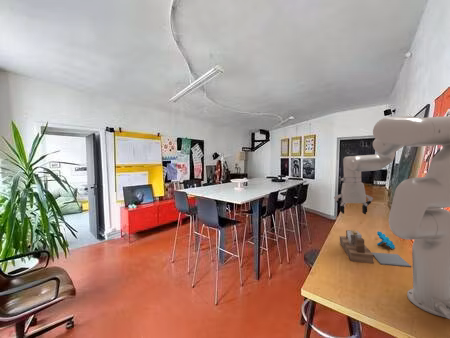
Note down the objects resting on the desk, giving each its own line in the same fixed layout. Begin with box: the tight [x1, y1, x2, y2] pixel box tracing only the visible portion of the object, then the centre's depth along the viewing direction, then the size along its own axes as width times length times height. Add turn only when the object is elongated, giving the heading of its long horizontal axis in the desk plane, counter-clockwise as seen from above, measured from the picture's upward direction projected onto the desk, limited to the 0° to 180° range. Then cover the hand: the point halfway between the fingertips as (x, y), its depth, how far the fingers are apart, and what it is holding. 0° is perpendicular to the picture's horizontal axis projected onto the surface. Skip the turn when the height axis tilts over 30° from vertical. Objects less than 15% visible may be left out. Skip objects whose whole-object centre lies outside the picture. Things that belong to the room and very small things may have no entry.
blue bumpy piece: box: [376, 231, 396, 250], centre depth 108 cm, size 11×6×10 cm
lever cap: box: [347, 229, 363, 247], centre depth 103 cm, size 6×5×7 cm
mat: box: [371, 251, 412, 268], centre depth 93 cm, size 11×11×1 cm
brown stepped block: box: [339, 229, 375, 264], centre depth 103 cm, size 22×9×10 cm, turn 162°
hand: (353, 213), depth 102 cm, fingers open, 9 cm apart
